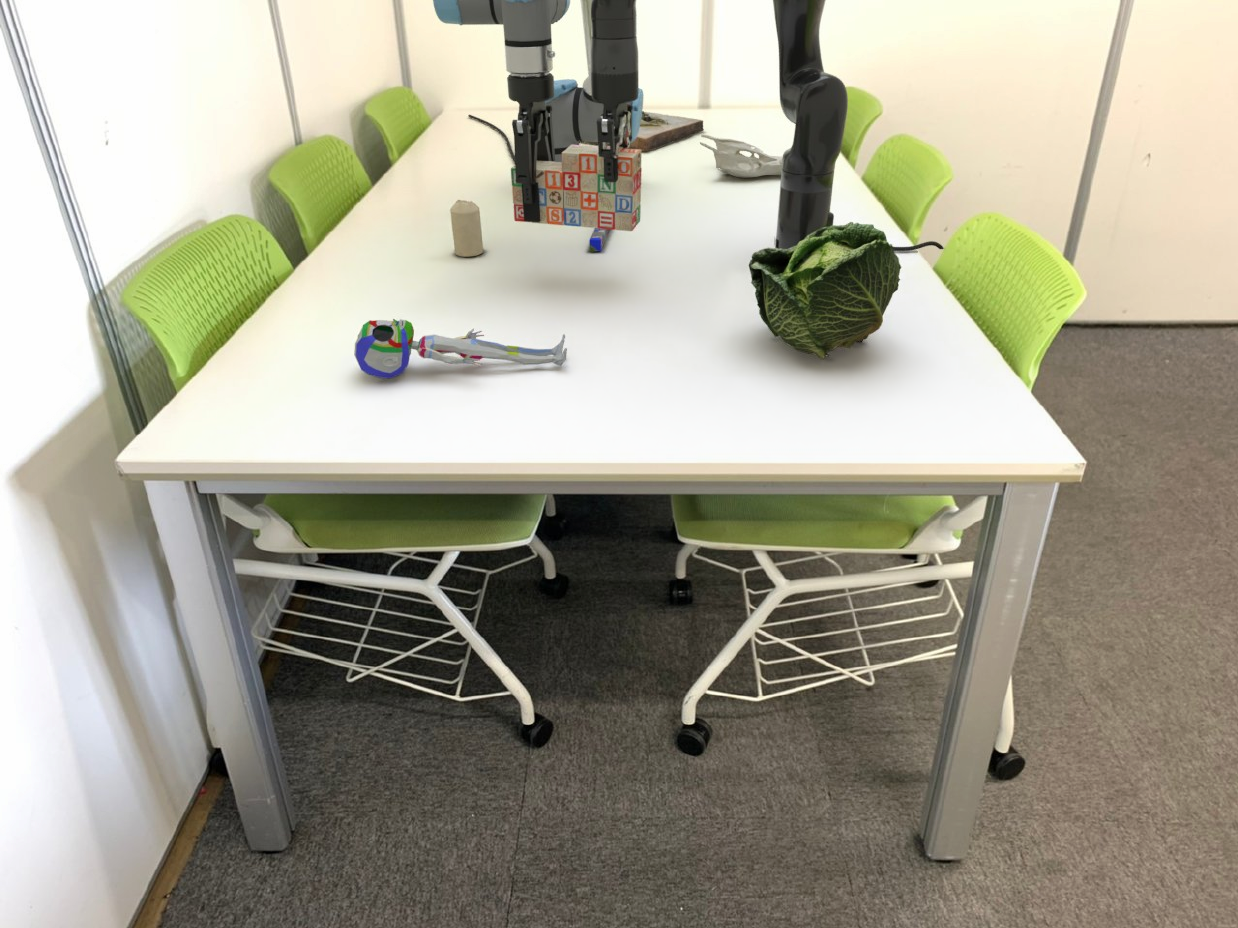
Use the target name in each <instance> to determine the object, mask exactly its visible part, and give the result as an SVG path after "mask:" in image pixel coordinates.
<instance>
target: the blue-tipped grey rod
mask: <svg viewBox="0 0 1238 928" xmlns="http://www.w3.org/2000/svg"><path fill="white" fill-rule="evenodd" d="M610 231H611V229H601V228H593V231H592V234H591V236H590V237H589V241H588V243H589V244H588V245H589V246H588V247H589V248H588V250H589V252H601V251H602V249H603V247H604V245H605V242H606V239H607V237H608V235H609V232H610Z"/></svg>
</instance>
